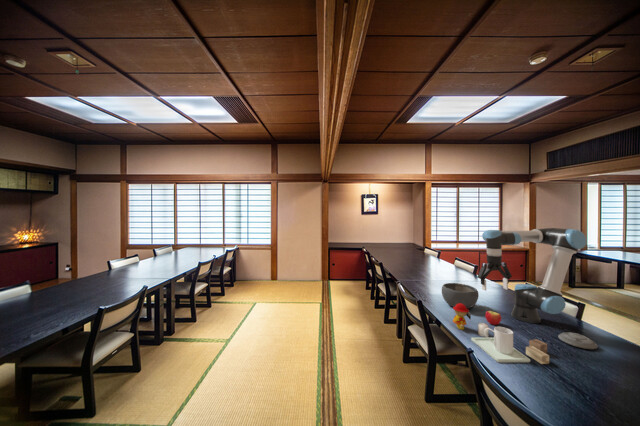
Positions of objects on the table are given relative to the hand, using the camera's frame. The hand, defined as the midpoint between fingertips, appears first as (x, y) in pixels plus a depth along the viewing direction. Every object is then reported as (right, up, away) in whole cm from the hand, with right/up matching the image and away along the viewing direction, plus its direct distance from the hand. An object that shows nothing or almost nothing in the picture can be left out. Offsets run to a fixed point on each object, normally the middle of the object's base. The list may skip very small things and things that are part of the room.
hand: (494, 289), depth 148 cm
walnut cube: (+6, -25, -23) cm, 35 cm away
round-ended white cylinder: (-11, -25, -6) cm, 28 cm away
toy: (-19, -25, +3) cm, 32 cm away
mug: (-14, -25, -22) cm, 36 cm away
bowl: (0, -25, +37) cm, 45 cm away
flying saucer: (+35, -26, -15) cm, 46 cm away
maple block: (0, -25, -29) cm, 39 cm away
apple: (+5, -25, +8) cm, 27 cm away
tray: (-14, -25, -22) cm, 36 cm away
